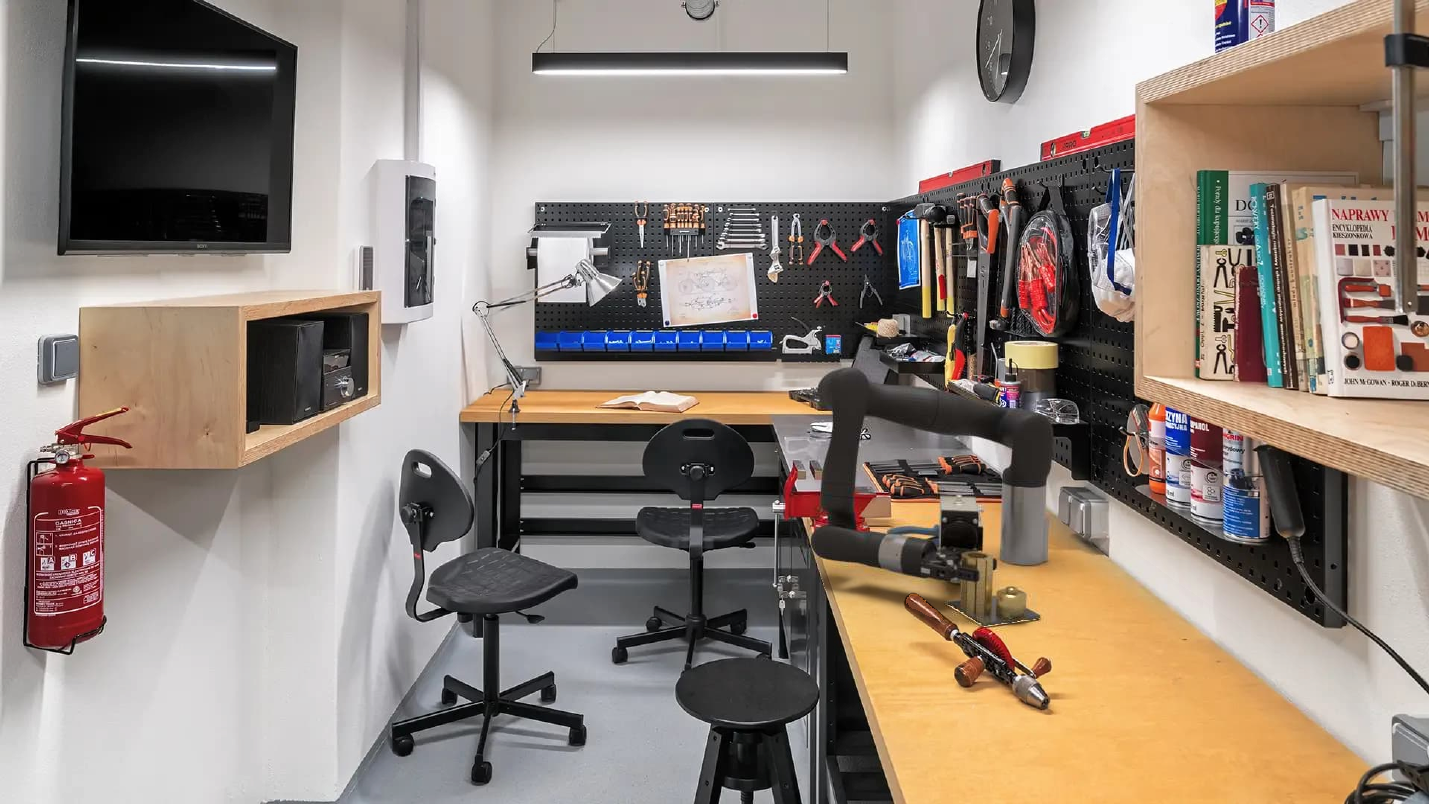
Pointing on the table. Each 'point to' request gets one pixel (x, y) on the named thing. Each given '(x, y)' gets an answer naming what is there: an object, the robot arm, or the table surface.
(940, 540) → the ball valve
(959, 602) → the carrier plate
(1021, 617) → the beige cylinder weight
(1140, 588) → the table surface
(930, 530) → the pliers
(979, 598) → the brass grooved sleeve
